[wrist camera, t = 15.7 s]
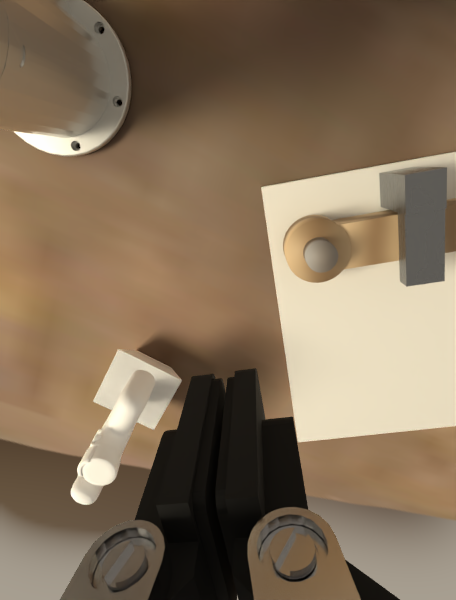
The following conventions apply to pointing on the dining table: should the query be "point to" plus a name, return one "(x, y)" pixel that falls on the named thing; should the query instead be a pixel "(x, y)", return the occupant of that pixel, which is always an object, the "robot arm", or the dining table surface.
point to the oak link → (349, 242)
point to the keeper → (418, 220)
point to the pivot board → (362, 321)
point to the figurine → (123, 416)
